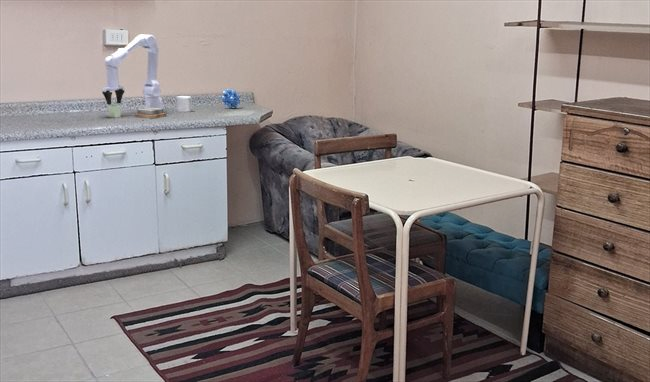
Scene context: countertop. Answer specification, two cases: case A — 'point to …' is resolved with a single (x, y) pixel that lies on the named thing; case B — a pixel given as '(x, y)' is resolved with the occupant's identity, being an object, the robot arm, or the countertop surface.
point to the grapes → (231, 98)
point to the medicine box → (184, 104)
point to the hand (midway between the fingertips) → (114, 103)
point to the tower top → (150, 111)
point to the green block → (114, 111)
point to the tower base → (151, 116)
